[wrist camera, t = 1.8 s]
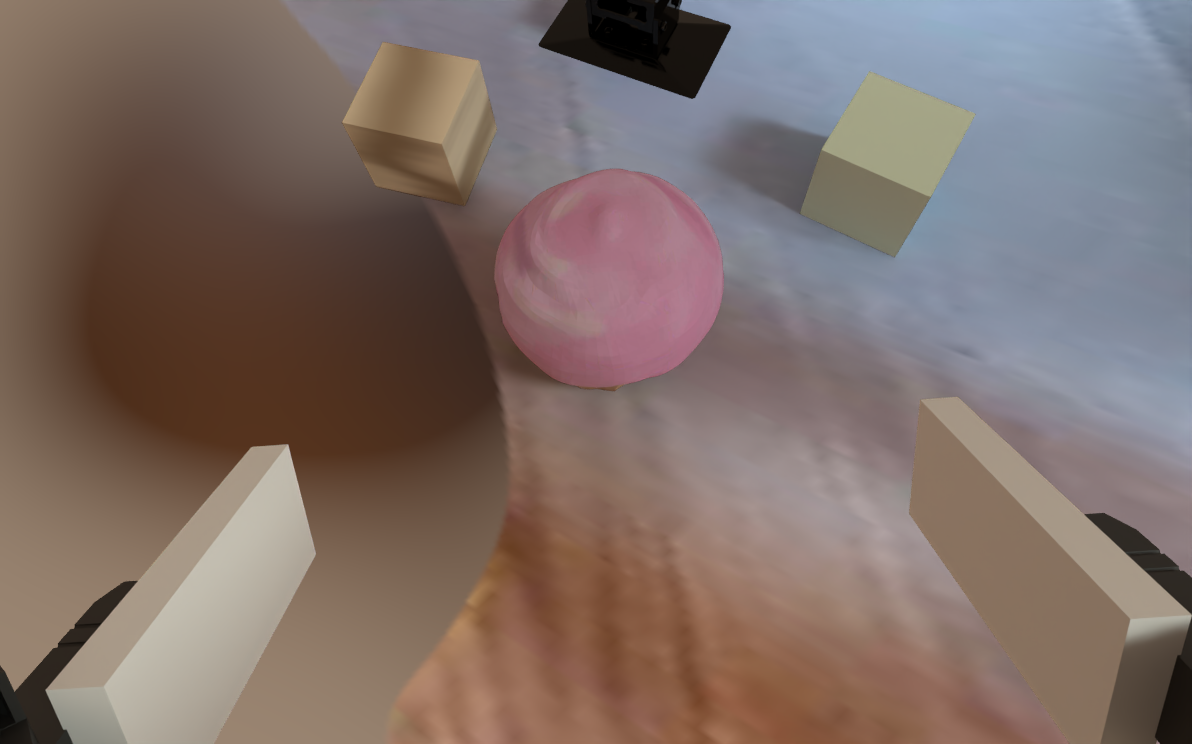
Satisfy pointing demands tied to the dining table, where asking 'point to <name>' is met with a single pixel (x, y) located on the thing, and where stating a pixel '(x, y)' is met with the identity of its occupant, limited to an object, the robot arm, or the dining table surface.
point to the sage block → (884, 162)
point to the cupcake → (609, 279)
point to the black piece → (639, 40)
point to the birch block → (422, 123)
